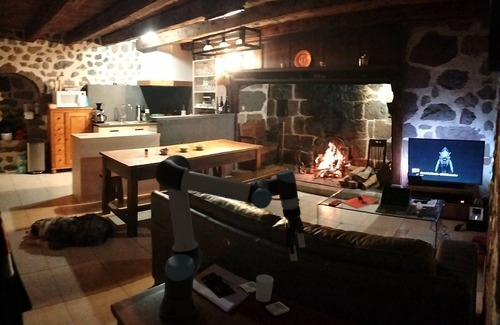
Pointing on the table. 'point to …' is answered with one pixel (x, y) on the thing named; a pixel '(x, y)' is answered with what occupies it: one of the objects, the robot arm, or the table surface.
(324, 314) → the table surface
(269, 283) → the white cup
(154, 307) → the table surface
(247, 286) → the placard
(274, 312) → the placard
